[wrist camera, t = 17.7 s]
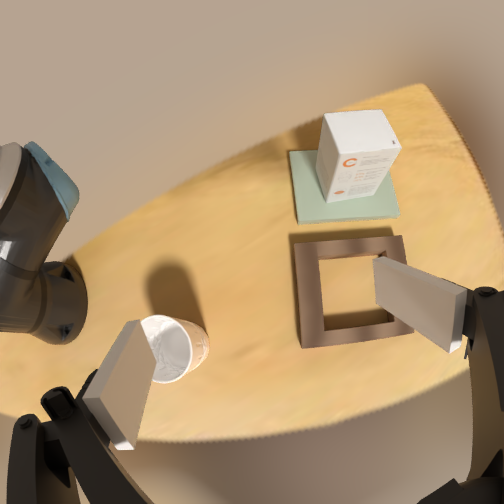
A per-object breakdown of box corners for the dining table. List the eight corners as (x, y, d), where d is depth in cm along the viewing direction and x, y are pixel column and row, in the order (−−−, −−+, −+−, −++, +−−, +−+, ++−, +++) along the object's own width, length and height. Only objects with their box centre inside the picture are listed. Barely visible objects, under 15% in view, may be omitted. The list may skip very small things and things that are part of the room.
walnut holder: (301, 347, 37) (302, 348, 35) (293, 248, 41) (294, 243, 38) (407, 332, 36) (414, 332, 33) (395, 240, 39) (401, 235, 37)
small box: (361, 161, 41) (382, 107, 29) (374, 196, 40) (403, 148, 27) (313, 167, 42) (322, 112, 29) (324, 204, 40) (340, 155, 28)
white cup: (153, 335, 39) (118, 336, 30) (194, 307, 40) (167, 301, 30) (182, 380, 37) (152, 394, 28) (224, 352, 38) (206, 361, 28)
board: (298, 224, 41) (298, 221, 40) (289, 156, 44) (289, 151, 43) (397, 218, 40) (400, 214, 38) (380, 153, 43) (382, 149, 42)
